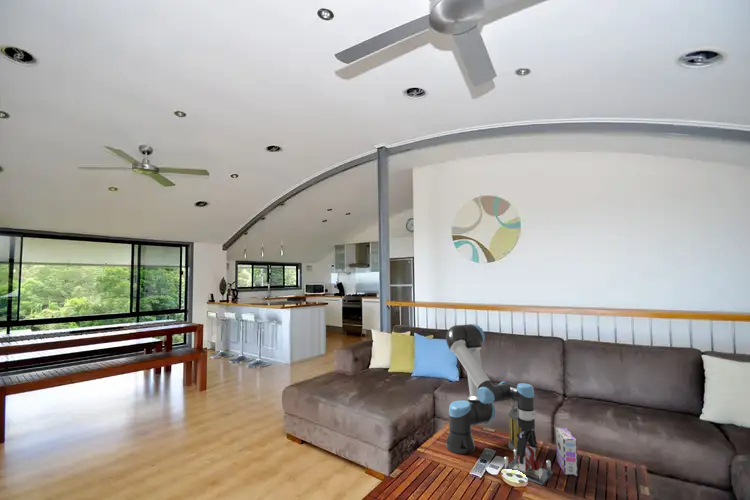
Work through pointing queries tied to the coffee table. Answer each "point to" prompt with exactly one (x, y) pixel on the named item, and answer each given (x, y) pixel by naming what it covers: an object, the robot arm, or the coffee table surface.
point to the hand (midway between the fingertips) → (527, 465)
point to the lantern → (514, 428)
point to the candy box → (566, 451)
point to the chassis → (530, 470)
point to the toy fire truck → (529, 459)
